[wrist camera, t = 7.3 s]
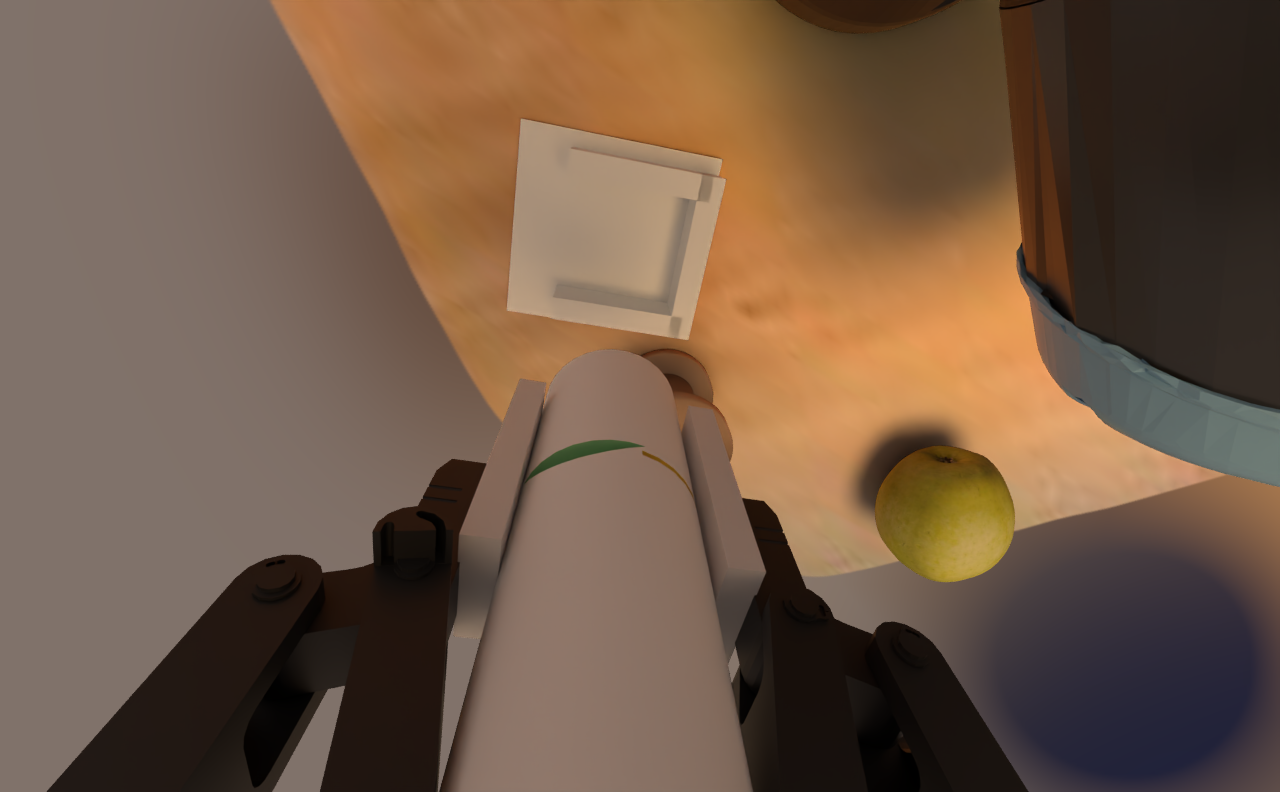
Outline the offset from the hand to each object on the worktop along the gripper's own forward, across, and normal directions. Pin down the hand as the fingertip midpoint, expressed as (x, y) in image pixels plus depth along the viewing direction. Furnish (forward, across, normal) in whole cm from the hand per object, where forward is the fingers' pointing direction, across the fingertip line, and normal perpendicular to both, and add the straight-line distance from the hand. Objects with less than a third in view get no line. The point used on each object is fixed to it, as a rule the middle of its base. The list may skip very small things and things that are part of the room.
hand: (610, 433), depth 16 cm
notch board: (+16, -1, +3) cm, 17 cm away
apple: (+17, +23, -10) cm, 30 cm away
